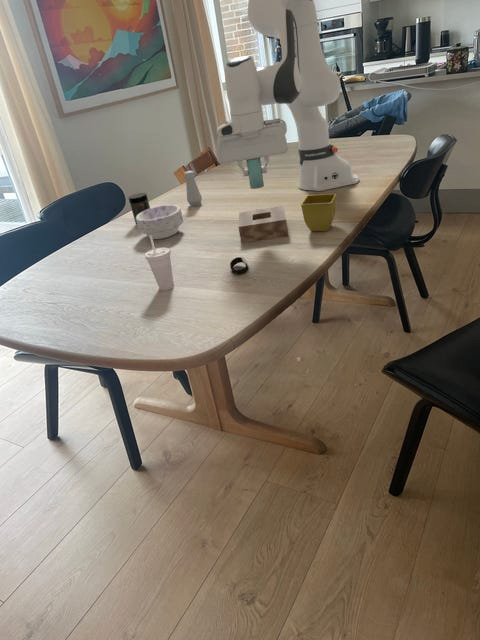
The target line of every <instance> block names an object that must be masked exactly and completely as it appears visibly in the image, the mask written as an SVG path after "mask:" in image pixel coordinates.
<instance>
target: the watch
mask: <svg viewBox="0 0 480 640" xmlns="http://www.w3.org/2000/svg"><path fill="white" fill-rule="evenodd" d="M239 263H242V264H243V265H244V267H242V268H240V269H235V268H234V267H235V266H236V265H237V264H239ZM229 266H230V270H231V272H232V273H234V274H235V275H238V276H242V275H245V274H246V273H248V271H249V269H250V265H249V263H248V261H247V259H246V258H245V257H244V256H241V257H239V256H238V257H235V258H233V259H232V260H231V261H230V263H229Z"/></svg>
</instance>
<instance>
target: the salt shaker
mask: <svg viewBox="0 0 480 640" xmlns="http://www.w3.org/2000/svg"><path fill="white" fill-rule="evenodd" d="M183 178H184V179H185V181H186V182H185V183H186V186H185V187H186V200H187V203H188V205H189V206H190V207H198V206H201V204H202V200H203V197H202V194H201V192H200V190H199V187H198V185H197V182H196V179H195V178H196V174H195V171H193V170H188V171H187V170H186V171H185V172H184V173H183Z"/></svg>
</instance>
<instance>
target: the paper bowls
mask: <svg viewBox="0 0 480 640" xmlns="http://www.w3.org/2000/svg"><path fill="white" fill-rule="evenodd" d="M136 222H137V225H136V226H137V228H138V231H139V233H140V234H143V235H146V236H147V237H148V238H149V239H150V236H152V239H153V240H162V239H167V238H169V237H172V236H174V235H175V234H177V233H178V232H179V228H180V226H181V225H182V224H183V223H184V217H183V212H182V208H181V207H180V206H179V205H176V204H165V205H159V206H155V207H150V209H147V210H145V211H143V212H141V213H139V214H138V215H137V216H136Z"/></svg>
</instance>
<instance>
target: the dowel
mask: <svg viewBox="0 0 480 640" xmlns="http://www.w3.org/2000/svg"><path fill="white" fill-rule="evenodd" d="M245 161H246V169H248V174H249V176H248V180H249V188H250V189H252V190H253V189H254V190H255V189H256V190H257V189H261V188H263V187H265V183H264V175H263V173H262V169H261V166H262V162H261V158H255V159H249V160H245Z"/></svg>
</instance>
